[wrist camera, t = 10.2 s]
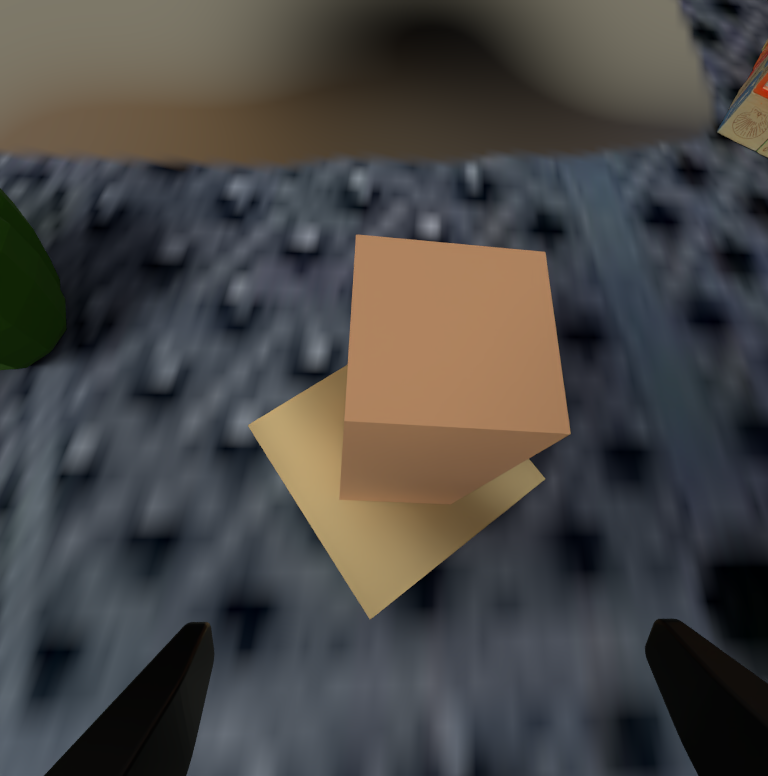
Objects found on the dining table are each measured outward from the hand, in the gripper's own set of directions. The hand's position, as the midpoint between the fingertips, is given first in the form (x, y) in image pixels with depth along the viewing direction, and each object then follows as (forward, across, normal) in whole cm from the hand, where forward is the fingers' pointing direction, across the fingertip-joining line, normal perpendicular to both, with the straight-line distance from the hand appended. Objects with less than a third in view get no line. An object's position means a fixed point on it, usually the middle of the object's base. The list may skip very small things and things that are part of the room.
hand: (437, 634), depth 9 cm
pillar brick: (+10, 0, +1) cm, 10 cm away
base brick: (+12, 0, +4) cm, 13 cm away
